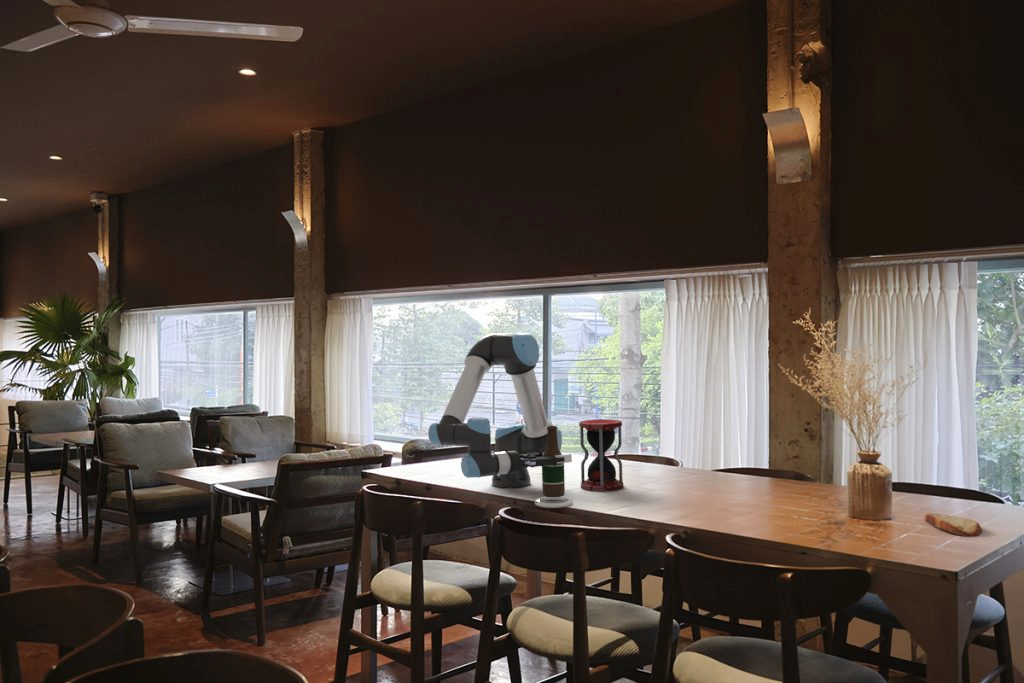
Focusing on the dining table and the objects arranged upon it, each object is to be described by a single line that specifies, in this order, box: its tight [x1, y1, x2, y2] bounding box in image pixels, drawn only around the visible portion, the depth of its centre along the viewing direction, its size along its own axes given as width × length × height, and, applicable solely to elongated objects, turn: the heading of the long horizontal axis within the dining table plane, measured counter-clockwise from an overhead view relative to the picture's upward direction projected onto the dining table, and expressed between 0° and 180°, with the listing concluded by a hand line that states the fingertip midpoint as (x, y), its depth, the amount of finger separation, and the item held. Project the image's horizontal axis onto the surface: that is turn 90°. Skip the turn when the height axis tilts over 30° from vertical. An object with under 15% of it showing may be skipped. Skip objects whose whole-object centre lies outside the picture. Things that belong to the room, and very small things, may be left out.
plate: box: [534, 496, 574, 509], centre depth 285 cm, size 13×13×1 cm
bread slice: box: [923, 512, 983, 538], centre depth 240 cm, size 18×18×4 cm
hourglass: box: [578, 418, 624, 492], centre depth 312 cm, size 16×16×25 cm
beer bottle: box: [541, 425, 566, 497], centre depth 285 cm, size 8×8×24 cm
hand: (564, 456), depth 287 cm, fingers closed on beer bottle, 7 cm apart
